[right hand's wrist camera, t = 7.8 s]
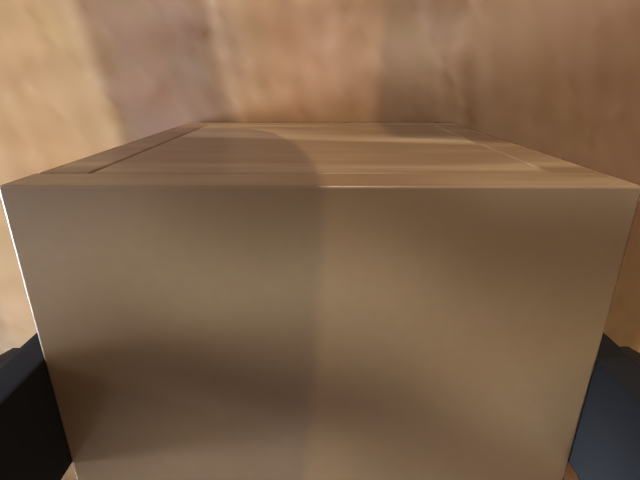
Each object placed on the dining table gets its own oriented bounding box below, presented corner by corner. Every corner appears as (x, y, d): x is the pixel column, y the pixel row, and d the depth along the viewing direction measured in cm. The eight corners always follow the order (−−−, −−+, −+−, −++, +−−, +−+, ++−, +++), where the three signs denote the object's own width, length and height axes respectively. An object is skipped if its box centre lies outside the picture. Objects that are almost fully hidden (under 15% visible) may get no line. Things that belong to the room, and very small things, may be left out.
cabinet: (412, 501, 26) (477, 799, 15) (227, 501, 26) (162, 800, 15) (452, 122, 18) (644, 185, 7) (187, 122, 18) (-5, 185, 7)
